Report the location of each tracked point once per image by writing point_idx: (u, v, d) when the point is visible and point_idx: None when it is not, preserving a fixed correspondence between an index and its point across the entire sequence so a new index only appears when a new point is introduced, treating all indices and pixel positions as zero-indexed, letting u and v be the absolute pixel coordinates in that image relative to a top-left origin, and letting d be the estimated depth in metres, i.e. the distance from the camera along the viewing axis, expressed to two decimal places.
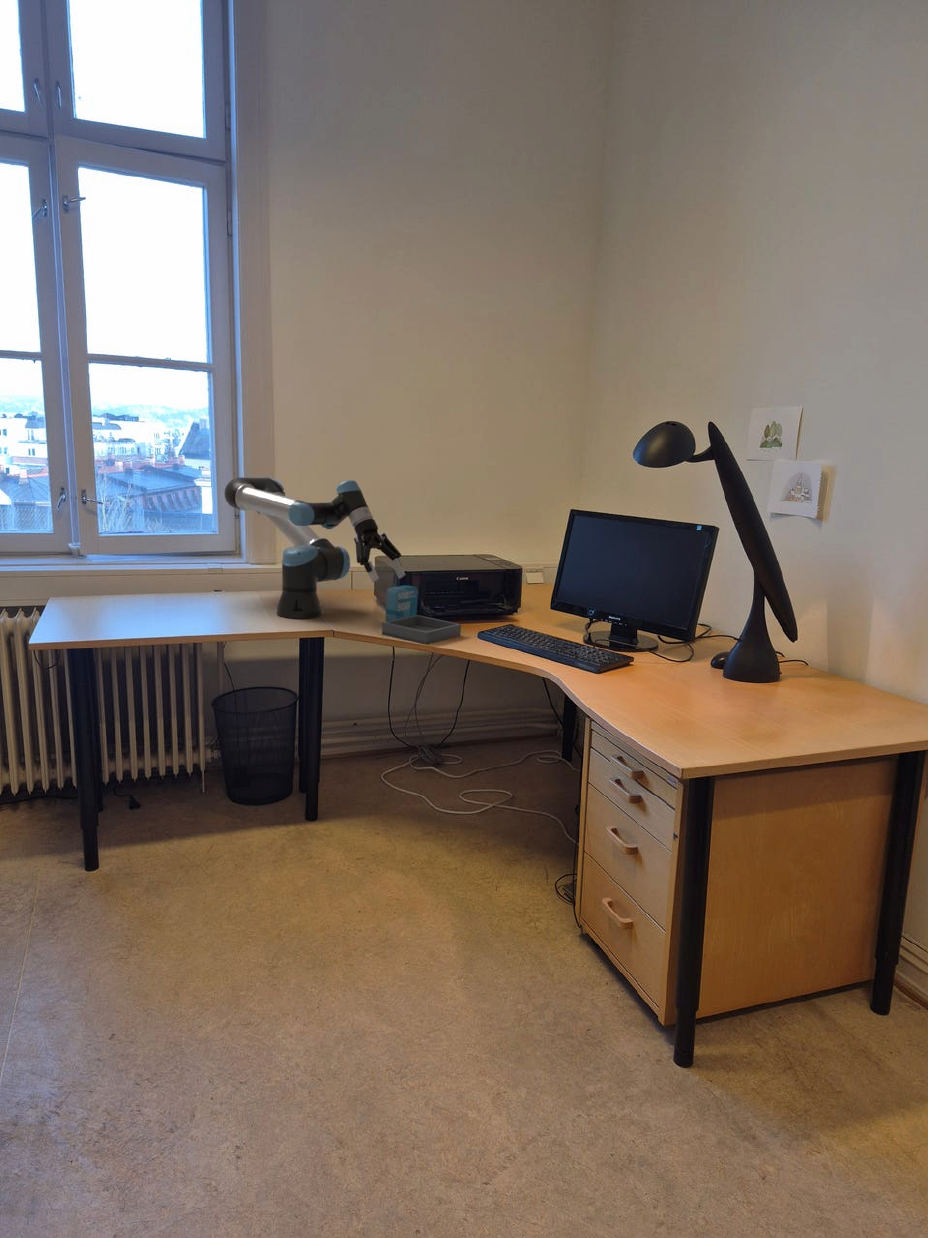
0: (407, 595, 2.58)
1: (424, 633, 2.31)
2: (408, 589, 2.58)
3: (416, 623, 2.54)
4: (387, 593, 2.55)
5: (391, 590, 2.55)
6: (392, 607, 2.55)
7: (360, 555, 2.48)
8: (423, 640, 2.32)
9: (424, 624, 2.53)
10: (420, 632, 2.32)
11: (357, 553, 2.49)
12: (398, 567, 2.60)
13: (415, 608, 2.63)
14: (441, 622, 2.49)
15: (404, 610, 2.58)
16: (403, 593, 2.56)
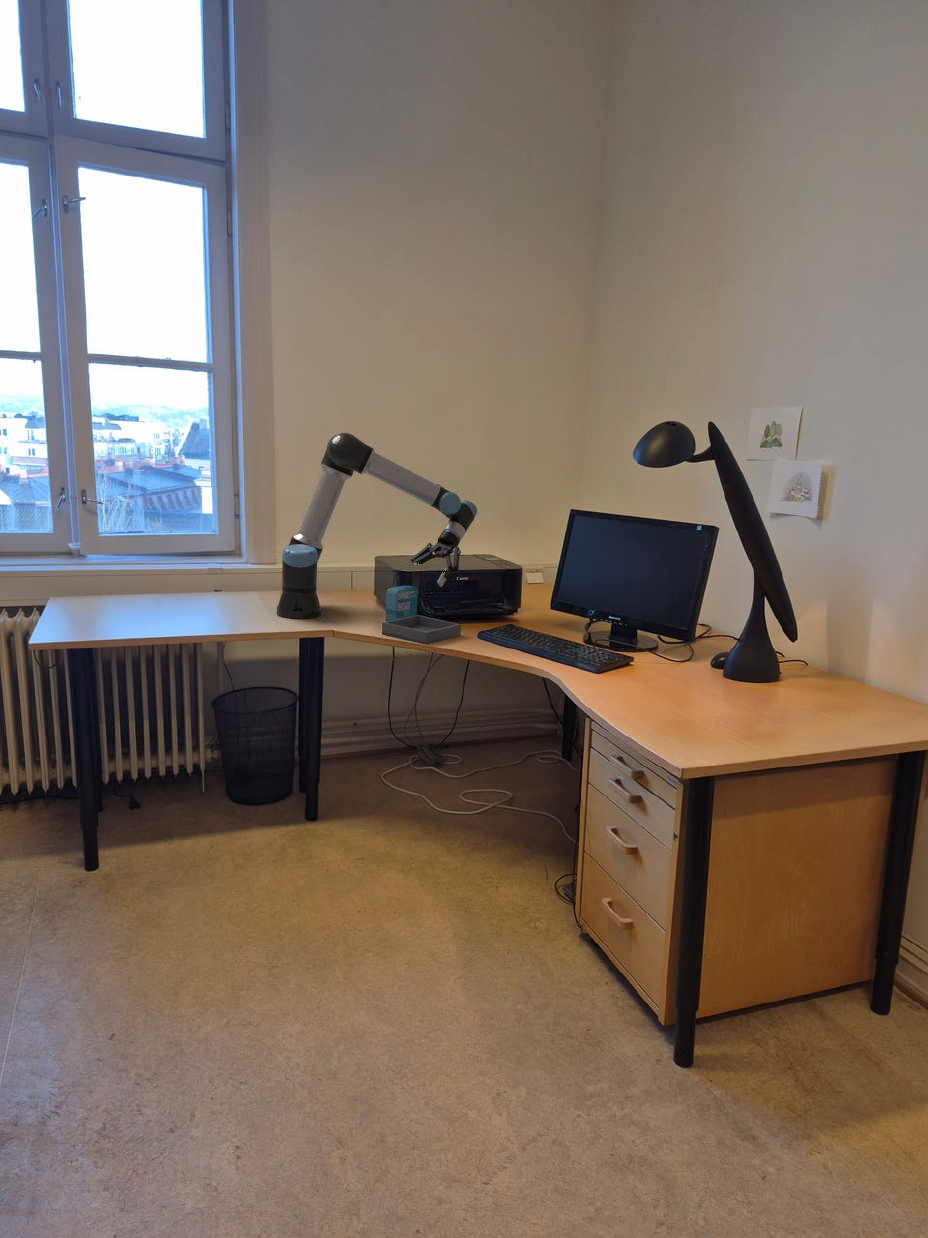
0: (407, 595, 2.58)
1: (424, 633, 2.31)
2: (408, 589, 2.58)
3: (416, 623, 2.54)
4: (387, 593, 2.55)
5: (391, 590, 2.55)
6: (392, 607, 2.55)
7: (458, 567, 2.66)
8: (423, 640, 2.32)
9: (424, 624, 2.53)
10: (420, 632, 2.32)
11: (457, 561, 2.66)
12: None
13: (415, 608, 2.63)
14: (441, 622, 2.49)
15: (404, 610, 2.58)
16: (403, 593, 2.56)
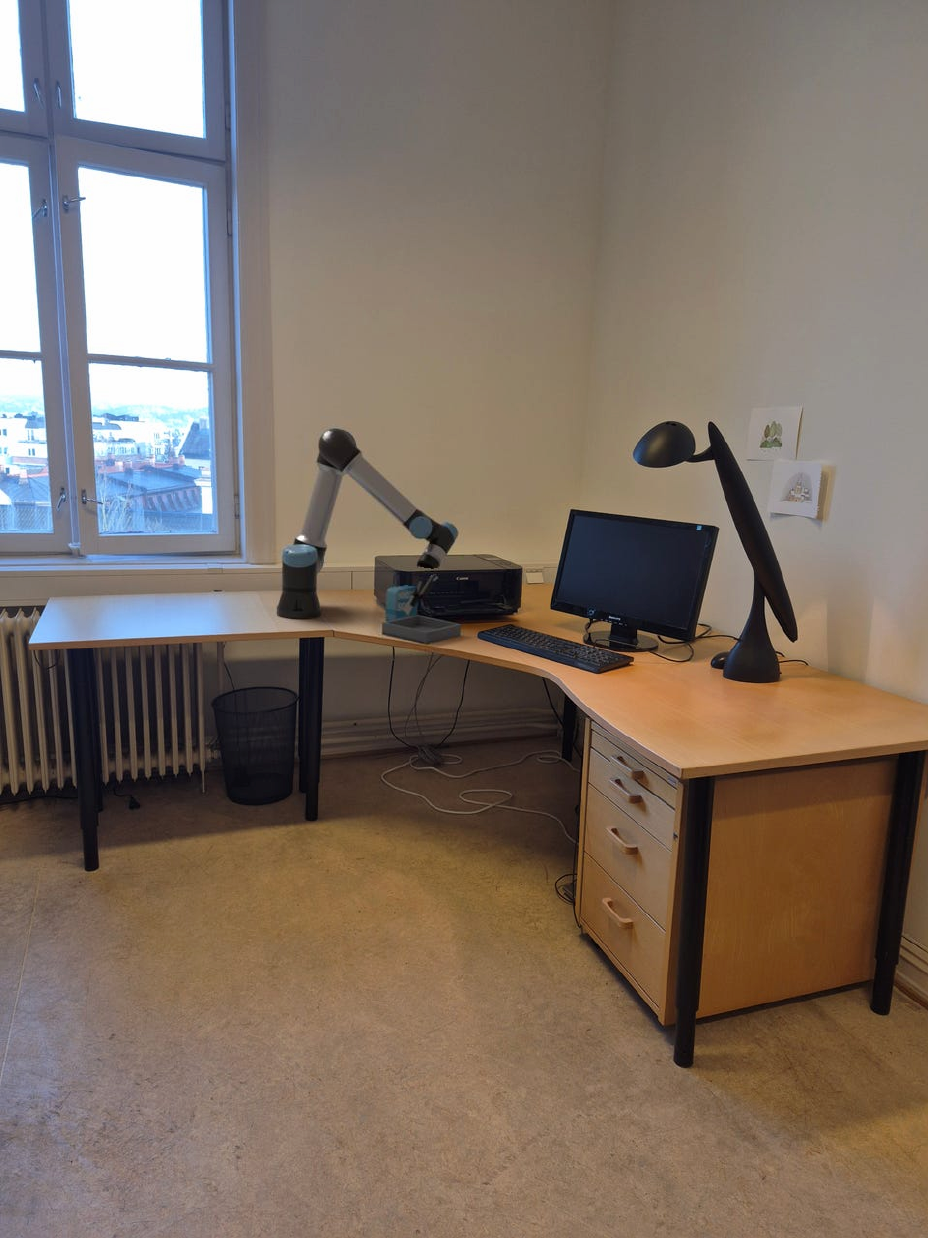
0: (407, 595, 2.58)
1: (424, 633, 2.31)
2: (408, 589, 2.58)
3: (416, 623, 2.54)
4: (387, 593, 2.55)
5: (391, 590, 2.55)
6: (392, 607, 2.55)
7: (426, 595, 2.61)
8: (423, 640, 2.32)
9: (424, 624, 2.53)
10: (420, 632, 2.32)
11: (426, 589, 2.60)
12: None
13: (416, 608, 2.63)
14: (441, 622, 2.49)
15: None
16: (403, 593, 2.56)
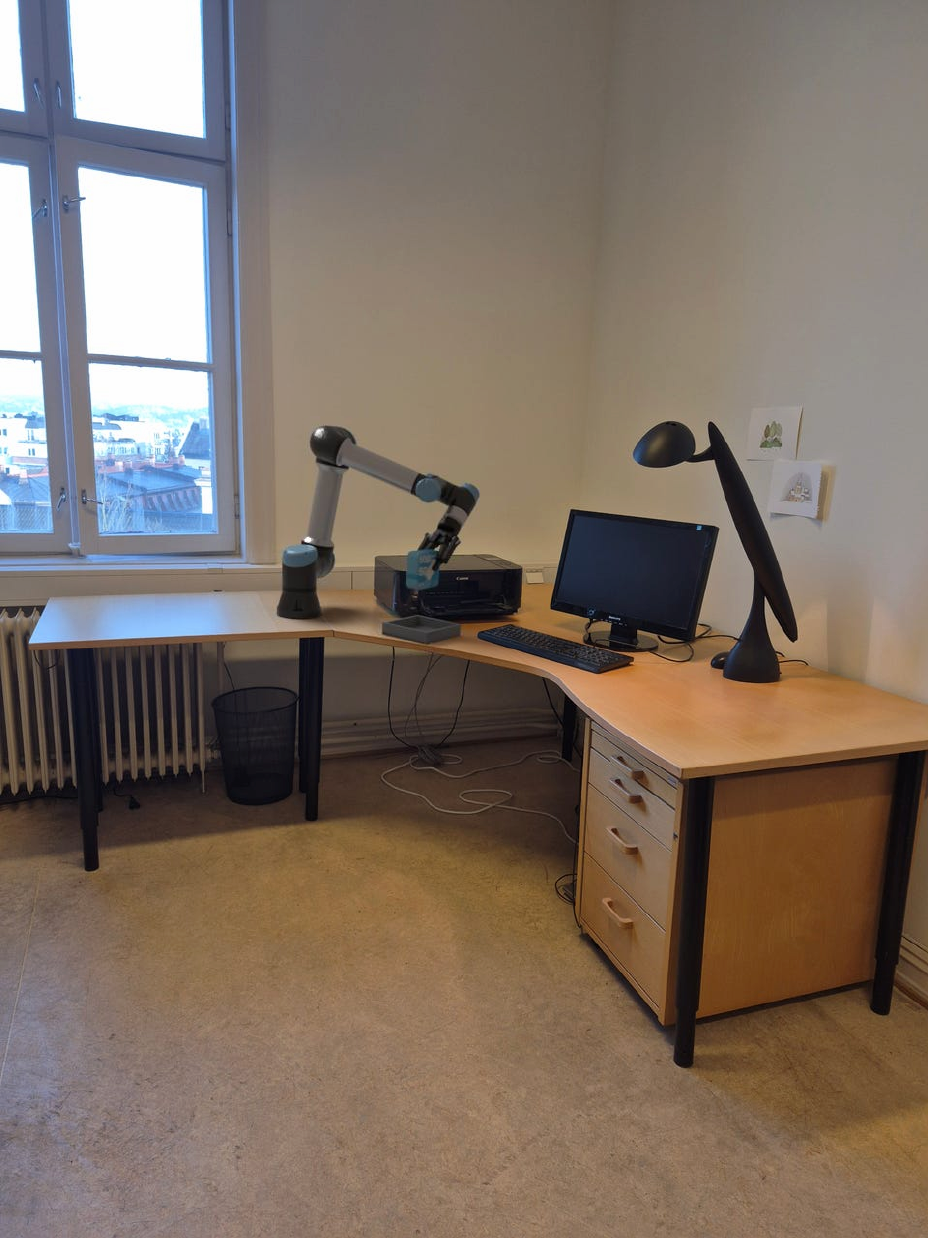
0: (429, 559, 2.43)
1: (424, 633, 2.31)
2: (430, 552, 2.43)
3: (416, 623, 2.54)
4: (408, 556, 2.40)
5: (412, 553, 2.40)
6: (414, 571, 2.40)
7: (448, 559, 2.46)
8: (423, 640, 2.32)
9: (424, 624, 2.53)
10: (420, 632, 2.32)
11: (449, 552, 2.45)
12: None
13: (437, 573, 2.48)
14: (441, 622, 2.49)
15: None
16: (425, 556, 2.41)
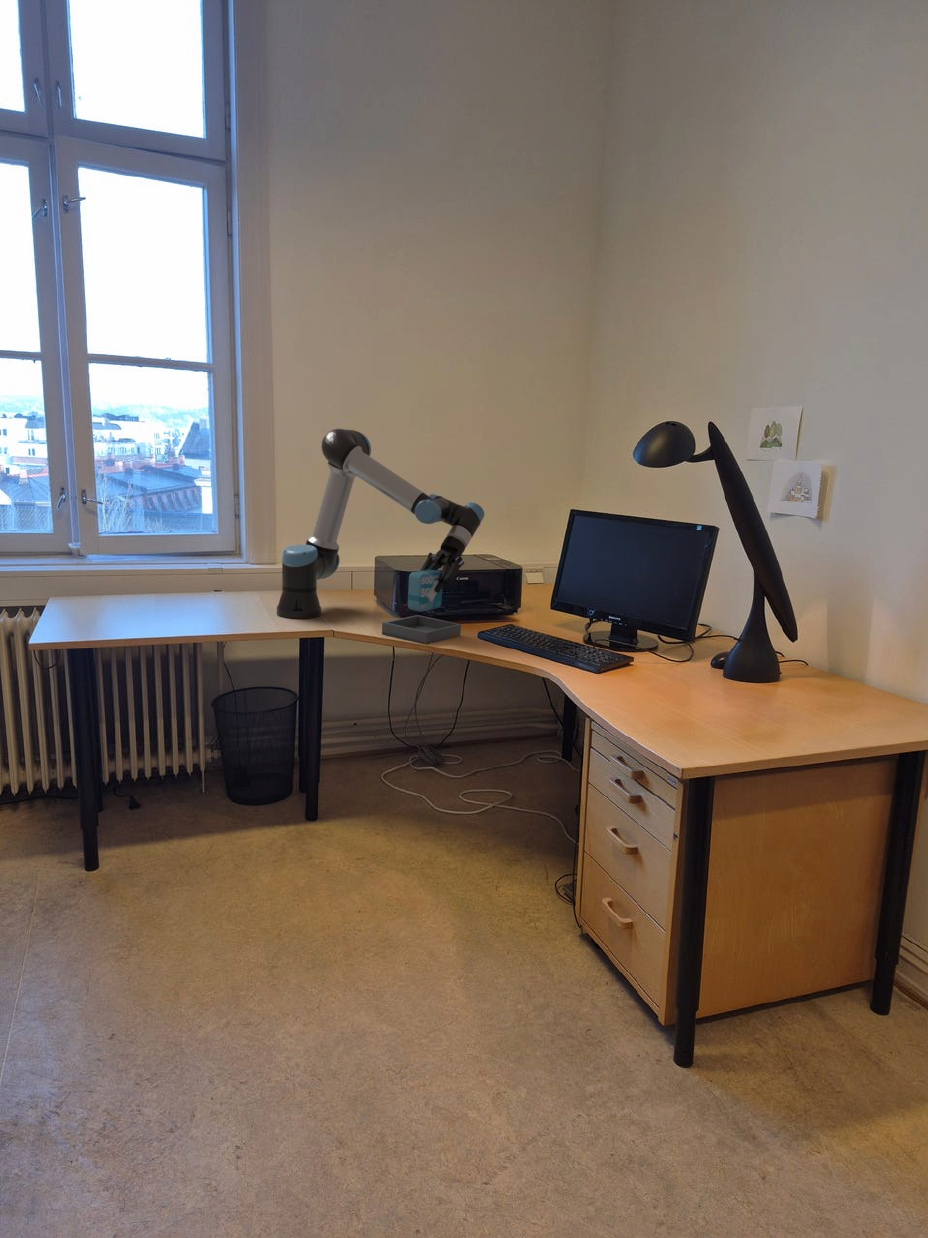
0: (431, 580, 2.39)
1: (424, 633, 2.31)
2: (432, 573, 2.39)
3: (416, 623, 2.54)
4: (410, 577, 2.36)
5: (414, 574, 2.36)
6: (416, 593, 2.36)
7: (451, 580, 2.41)
8: (423, 640, 2.32)
9: (424, 624, 2.53)
10: (420, 632, 2.32)
11: (452, 573, 2.41)
12: None
13: (440, 594, 2.44)
14: (441, 622, 2.49)
15: None
16: (427, 577, 2.37)
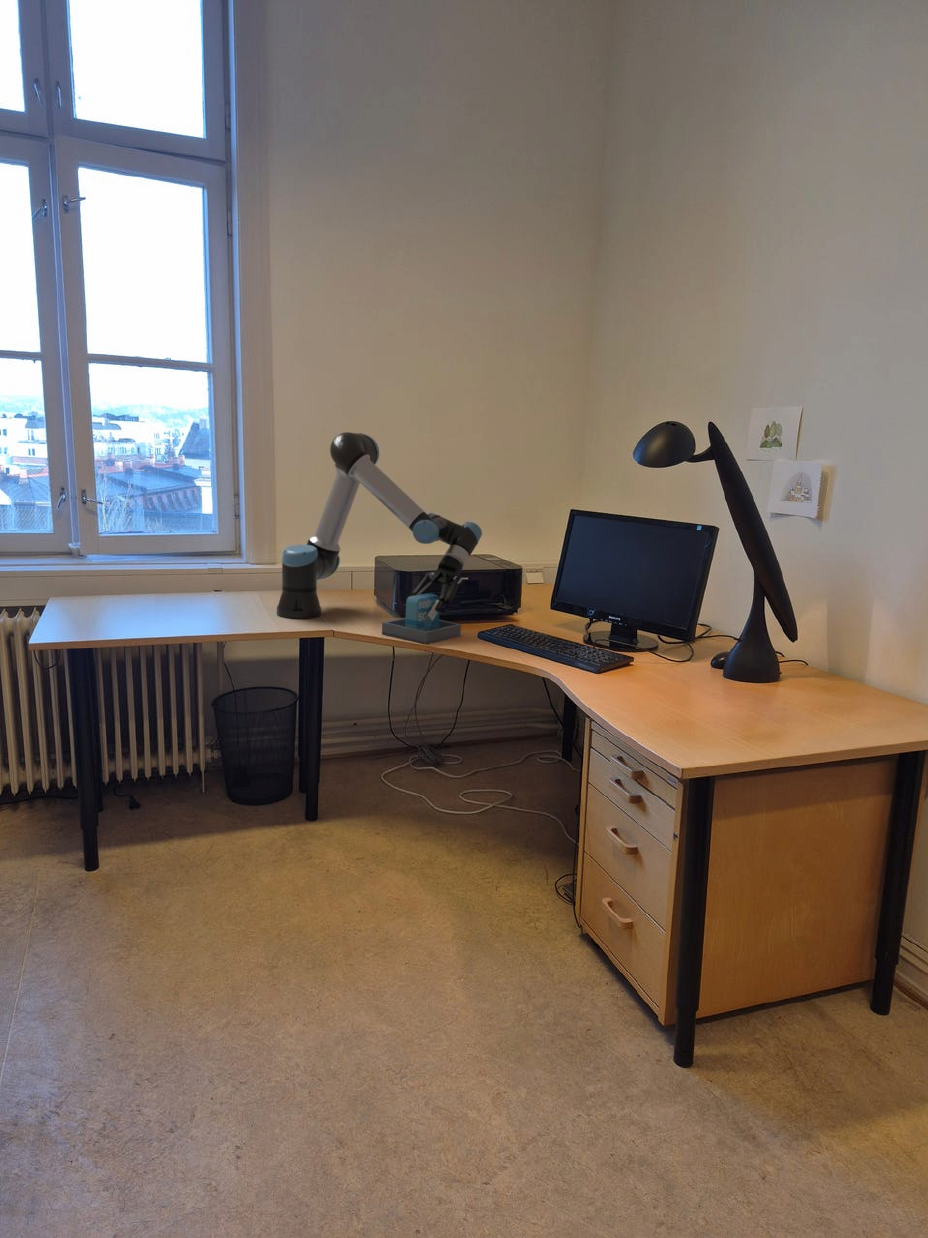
0: (428, 604, 2.41)
1: (424, 633, 2.31)
2: (430, 598, 2.41)
3: None
4: (407, 602, 2.38)
5: (411, 599, 2.37)
6: (413, 617, 2.37)
7: (451, 599, 2.42)
8: (423, 640, 2.32)
9: None
10: (420, 632, 2.32)
11: (452, 592, 2.42)
12: None
13: (437, 618, 2.46)
14: (441, 622, 2.49)
15: (425, 620, 2.41)
16: (424, 602, 2.39)
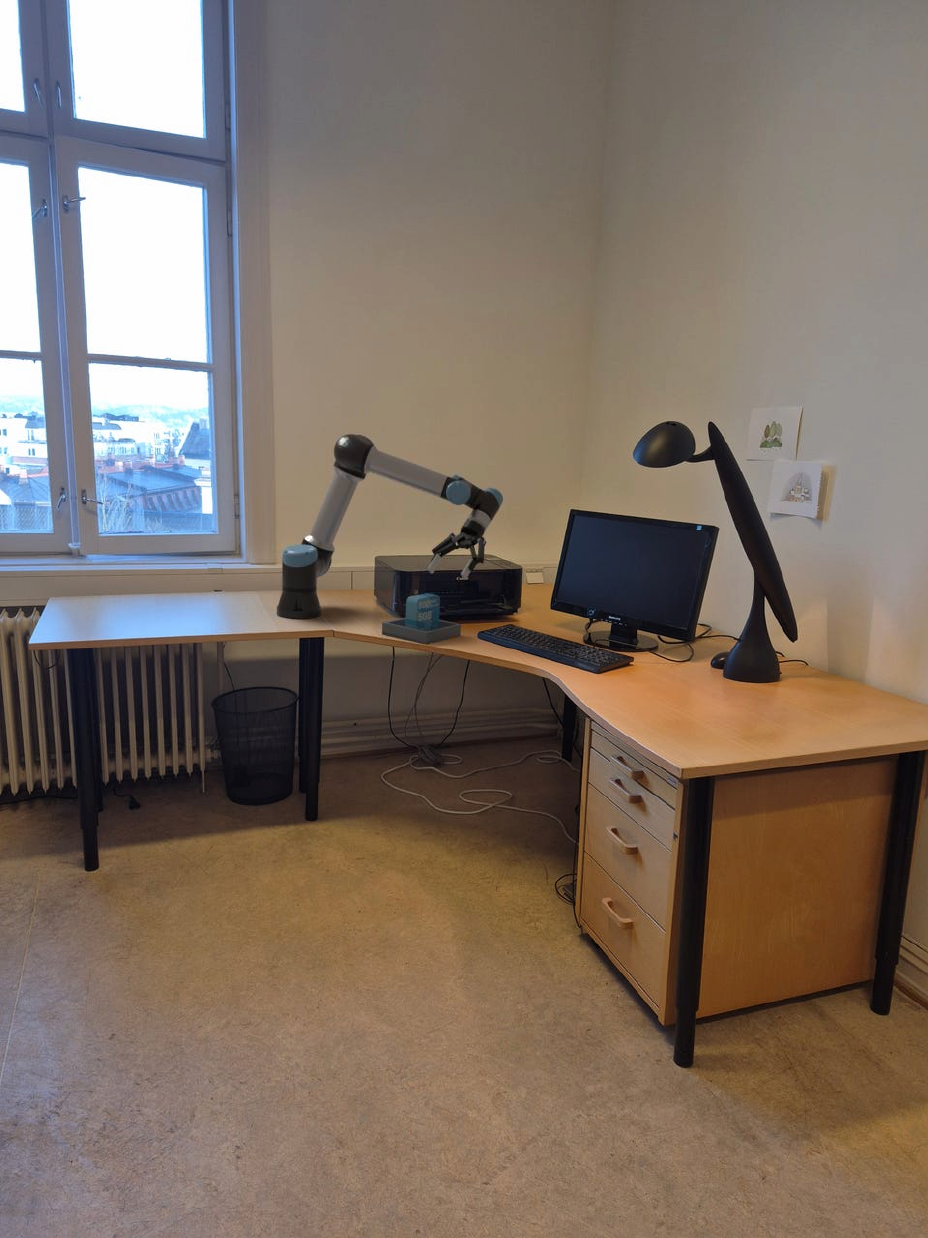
0: (428, 604, 2.41)
1: (424, 633, 2.31)
2: (430, 598, 2.41)
3: None
4: (407, 602, 2.38)
5: (411, 599, 2.37)
6: (413, 617, 2.37)
7: (483, 558, 2.48)
8: (423, 640, 2.32)
9: None
10: (420, 632, 2.32)
11: (482, 552, 2.48)
12: (436, 564, 2.55)
13: (437, 618, 2.46)
14: (441, 622, 2.49)
15: (425, 620, 2.41)
16: (424, 602, 2.39)
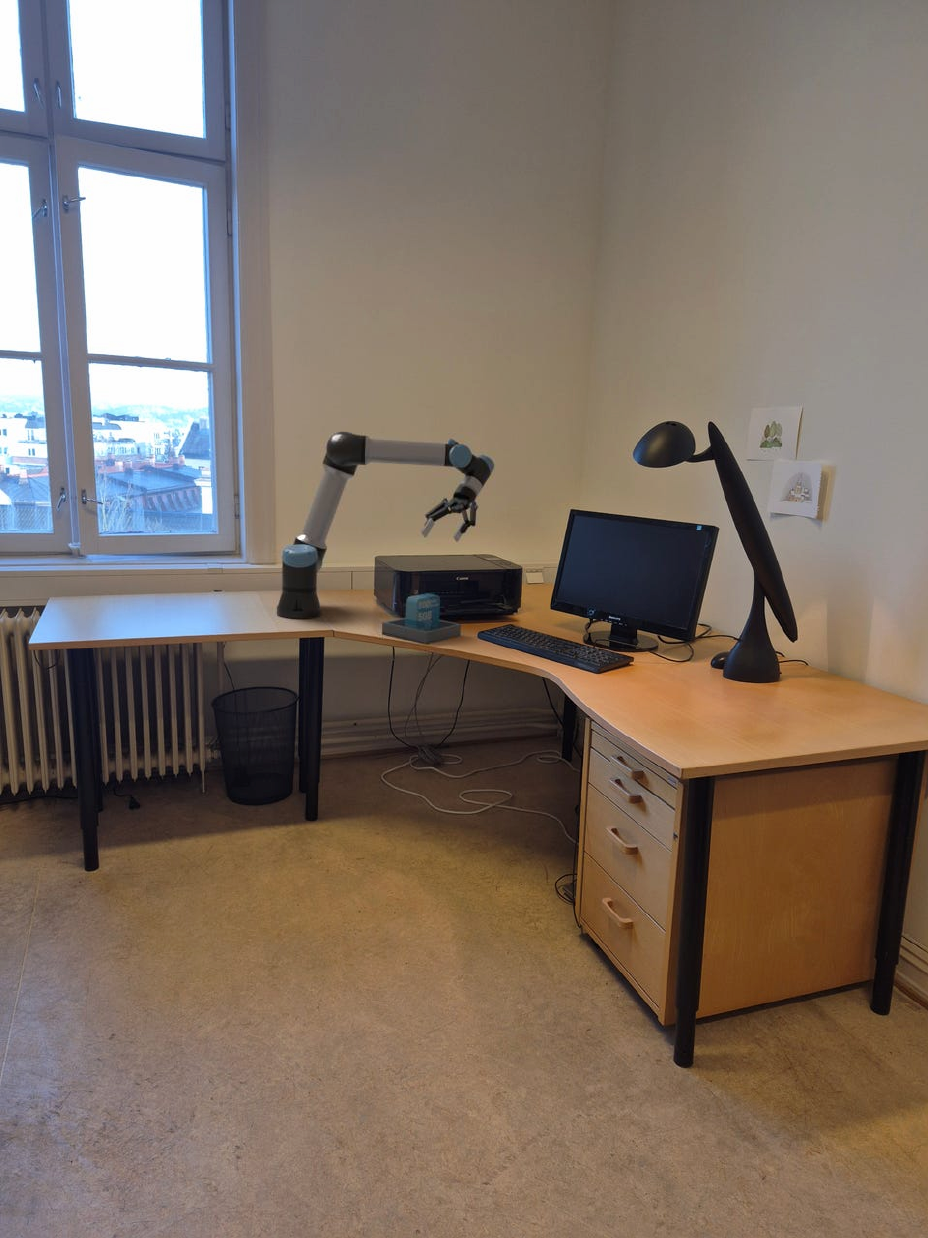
0: (428, 604, 2.41)
1: (424, 633, 2.31)
2: (430, 598, 2.41)
3: None
4: (407, 602, 2.38)
5: (411, 599, 2.37)
6: (413, 617, 2.37)
7: (475, 521, 2.57)
8: (423, 640, 2.32)
9: None
10: (420, 632, 2.32)
11: (473, 515, 2.57)
12: (429, 528, 2.63)
13: (437, 618, 2.46)
14: (441, 622, 2.49)
15: (425, 620, 2.41)
16: (424, 602, 2.39)
